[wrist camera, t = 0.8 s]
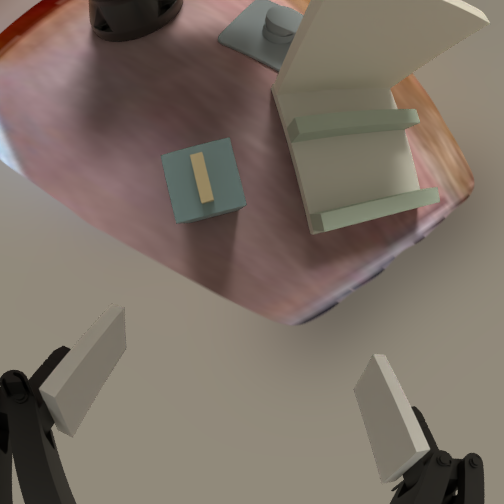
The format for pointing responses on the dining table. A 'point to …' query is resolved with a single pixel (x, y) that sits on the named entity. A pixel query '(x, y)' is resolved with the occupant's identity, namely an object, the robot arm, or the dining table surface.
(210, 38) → the dining table surface
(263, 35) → the shower valve
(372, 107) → the pale green rail stand
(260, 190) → the dining table surface
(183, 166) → the teal block with bar
